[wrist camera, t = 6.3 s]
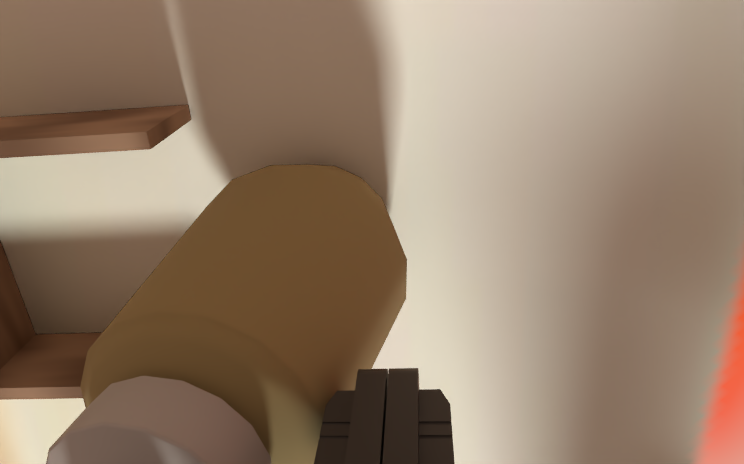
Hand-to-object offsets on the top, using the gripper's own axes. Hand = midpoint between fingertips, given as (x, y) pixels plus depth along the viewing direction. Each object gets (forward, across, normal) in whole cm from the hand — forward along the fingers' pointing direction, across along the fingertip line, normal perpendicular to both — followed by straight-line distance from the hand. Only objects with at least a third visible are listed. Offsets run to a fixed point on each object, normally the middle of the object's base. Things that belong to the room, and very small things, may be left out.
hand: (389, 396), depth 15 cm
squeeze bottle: (+11, +3, 0) cm, 12 cm away
